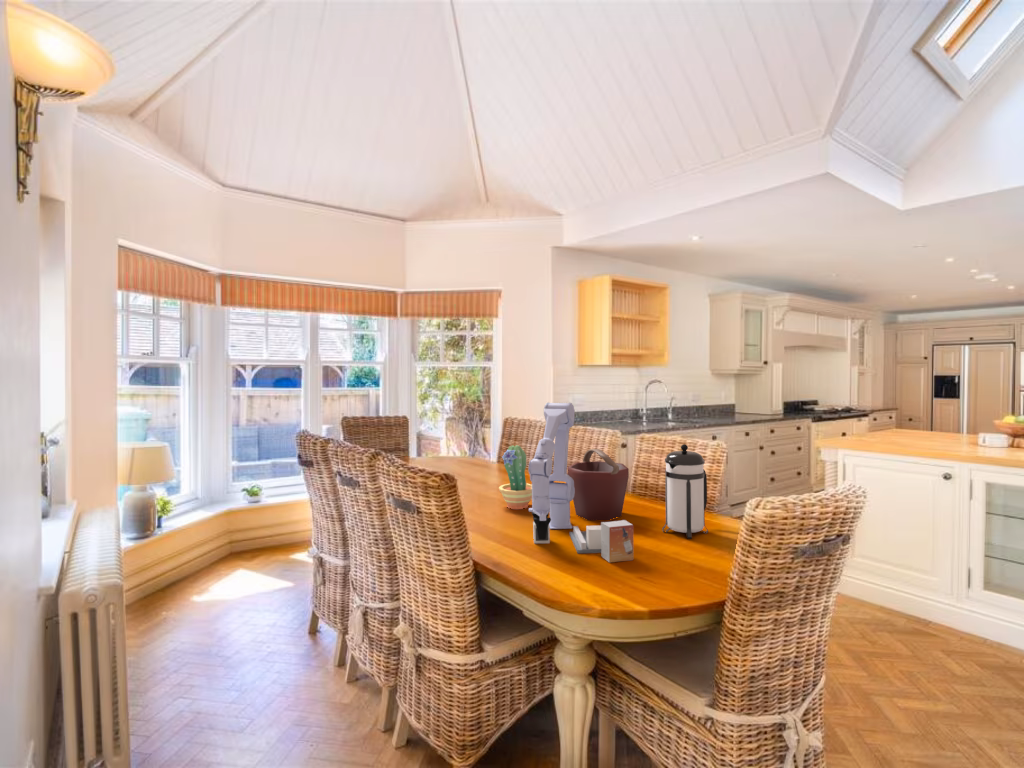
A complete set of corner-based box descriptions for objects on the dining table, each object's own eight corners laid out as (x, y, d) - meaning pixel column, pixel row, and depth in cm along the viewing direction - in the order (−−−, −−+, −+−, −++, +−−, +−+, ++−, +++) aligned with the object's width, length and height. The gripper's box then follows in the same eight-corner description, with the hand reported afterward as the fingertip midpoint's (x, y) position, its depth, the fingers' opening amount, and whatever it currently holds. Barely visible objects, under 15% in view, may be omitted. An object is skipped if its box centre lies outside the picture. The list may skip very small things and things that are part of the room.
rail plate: (569, 534, 178) (569, 514, 178) (604, 533, 178) (604, 513, 178) (577, 553, 160) (577, 530, 160) (616, 552, 160) (616, 529, 160)
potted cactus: (493, 504, 219) (491, 444, 218) (526, 499, 226) (525, 441, 225) (508, 513, 205) (507, 449, 204) (543, 508, 212) (542, 446, 211)
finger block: (533, 539, 174) (533, 521, 174) (548, 539, 174) (548, 521, 174) (534, 543, 169) (534, 525, 169) (549, 543, 170) (549, 525, 169)
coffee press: (715, 540, 169) (715, 448, 168) (664, 538, 172) (663, 447, 171) (706, 524, 186) (706, 440, 185) (660, 523, 189) (659, 440, 188)
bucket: (634, 523, 189) (633, 454, 188) (572, 525, 189) (571, 455, 188) (619, 505, 214) (618, 444, 213) (564, 507, 213) (563, 445, 212)
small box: (609, 563, 152) (608, 527, 151) (600, 556, 157) (600, 521, 157) (634, 560, 154) (633, 524, 153) (625, 553, 159) (624, 519, 159)
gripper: (527, 490, 178) (527, 529, 179) (529, 501, 164) (530, 544, 164) (547, 489, 179) (548, 529, 179) (552, 500, 164) (553, 543, 165)
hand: (541, 536), depth 172 cm, fingers closed on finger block, 4 cm apart
